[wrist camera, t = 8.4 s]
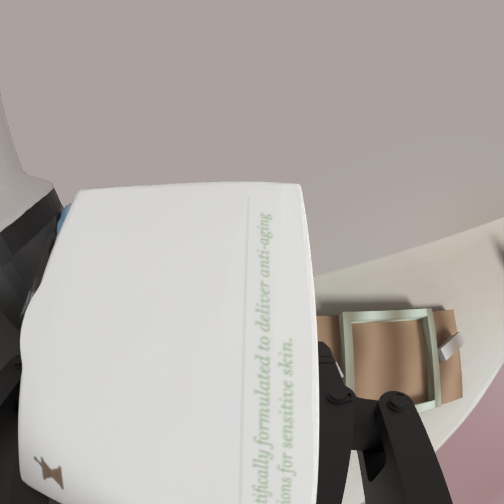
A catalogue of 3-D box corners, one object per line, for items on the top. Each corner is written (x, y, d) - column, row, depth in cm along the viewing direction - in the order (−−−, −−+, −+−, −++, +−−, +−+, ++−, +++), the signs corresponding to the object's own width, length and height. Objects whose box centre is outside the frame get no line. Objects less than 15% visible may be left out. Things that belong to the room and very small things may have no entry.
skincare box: (265, 441, 16) (326, 560, 2) (172, 434, 16) (13, 490, 2) (267, 330, 20) (316, 174, 6) (179, 326, 20) (68, 178, 6)
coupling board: (289, 427, 25) (294, 430, 23) (290, 319, 32) (295, 311, 29) (456, 398, 25) (470, 395, 22) (447, 313, 32) (460, 304, 29)
